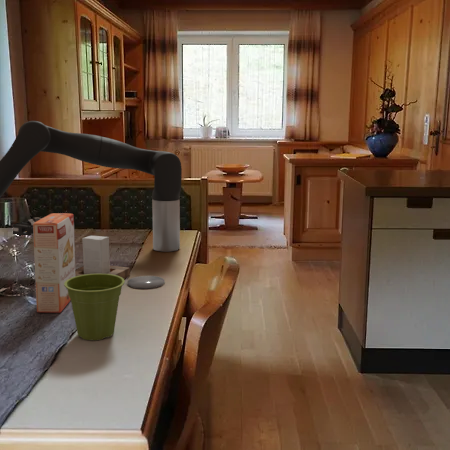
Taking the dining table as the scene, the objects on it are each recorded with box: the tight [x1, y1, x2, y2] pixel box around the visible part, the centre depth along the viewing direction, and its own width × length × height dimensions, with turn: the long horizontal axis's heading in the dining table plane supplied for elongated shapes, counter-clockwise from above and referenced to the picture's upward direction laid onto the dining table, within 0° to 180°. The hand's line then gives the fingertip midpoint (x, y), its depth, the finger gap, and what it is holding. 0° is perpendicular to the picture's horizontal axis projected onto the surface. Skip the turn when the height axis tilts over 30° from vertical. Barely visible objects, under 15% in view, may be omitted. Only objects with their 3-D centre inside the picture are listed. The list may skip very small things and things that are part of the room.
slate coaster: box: [126, 275, 166, 290], centre depth 142 cm, size 10×10×1 cm
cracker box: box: [32, 212, 76, 314], centre depth 124 cm, size 14×6×21 cm, turn 2°
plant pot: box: [64, 274, 126, 341], centre depth 107 cm, size 12×12×11 cm
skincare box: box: [81, 235, 111, 274], centre depth 144 cm, size 6×4×12 cm
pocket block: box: [75, 265, 131, 280], centre depth 145 cm, size 13×13×2 cm
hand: (59, 228), depth 146 cm, fingers open, 8 cm apart
